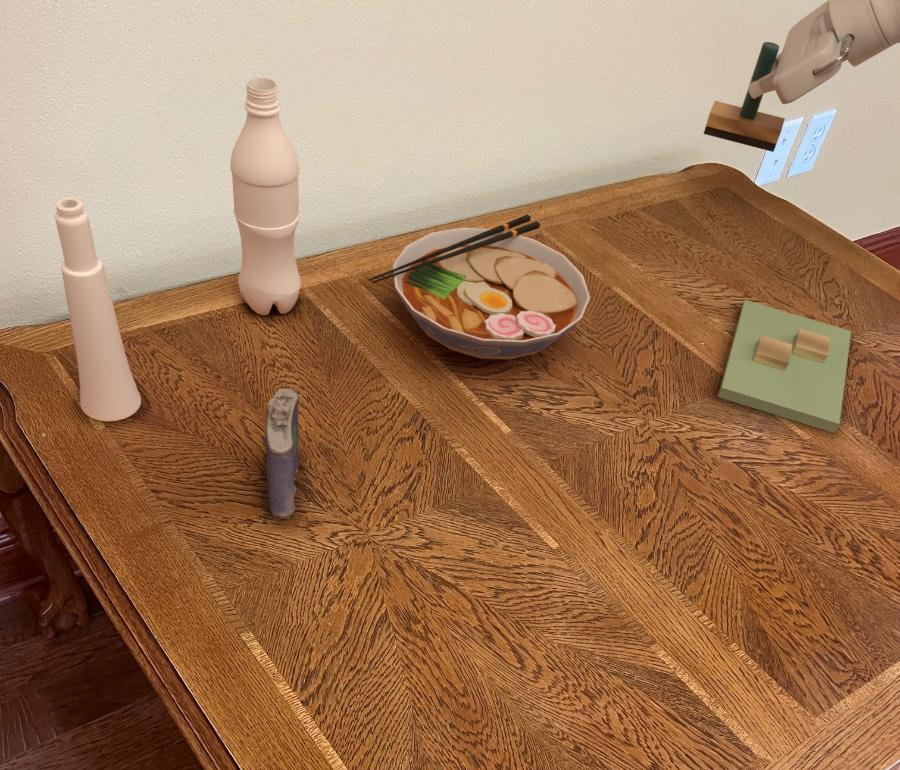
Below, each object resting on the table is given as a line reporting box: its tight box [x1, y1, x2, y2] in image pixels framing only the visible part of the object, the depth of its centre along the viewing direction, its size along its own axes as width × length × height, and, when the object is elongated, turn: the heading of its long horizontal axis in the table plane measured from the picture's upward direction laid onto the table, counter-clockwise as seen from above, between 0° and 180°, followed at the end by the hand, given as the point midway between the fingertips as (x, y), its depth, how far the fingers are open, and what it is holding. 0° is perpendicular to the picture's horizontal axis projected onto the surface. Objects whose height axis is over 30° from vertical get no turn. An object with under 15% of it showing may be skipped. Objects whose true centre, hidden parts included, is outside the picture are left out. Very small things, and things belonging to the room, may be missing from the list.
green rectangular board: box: [717, 299, 852, 434], centre depth 115 cm, size 20×14×2 cm
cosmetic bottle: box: [54, 196, 142, 422], centre depth 89 cm, size 6×6×22 cm
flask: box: [264, 387, 300, 520], centre depth 89 cm, size 9×3×11 cm, turn 2°
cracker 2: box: [792, 329, 830, 363], centre depth 116 cm, size 4×4×1 cm
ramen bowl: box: [369, 214, 591, 360], centre depth 110 cm, size 25×23×8 cm
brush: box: [703, 41, 786, 153], centre depth 128 cm, size 10×4×12 cm, turn 70°
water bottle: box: [229, 76, 302, 316], centre depth 102 cm, size 7×7×25 cm
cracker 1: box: [753, 336, 792, 370], centre depth 114 cm, size 4×4×1 cm
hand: (752, 87), depth 127 cm, fingers closed on brush, 2 cm apart
